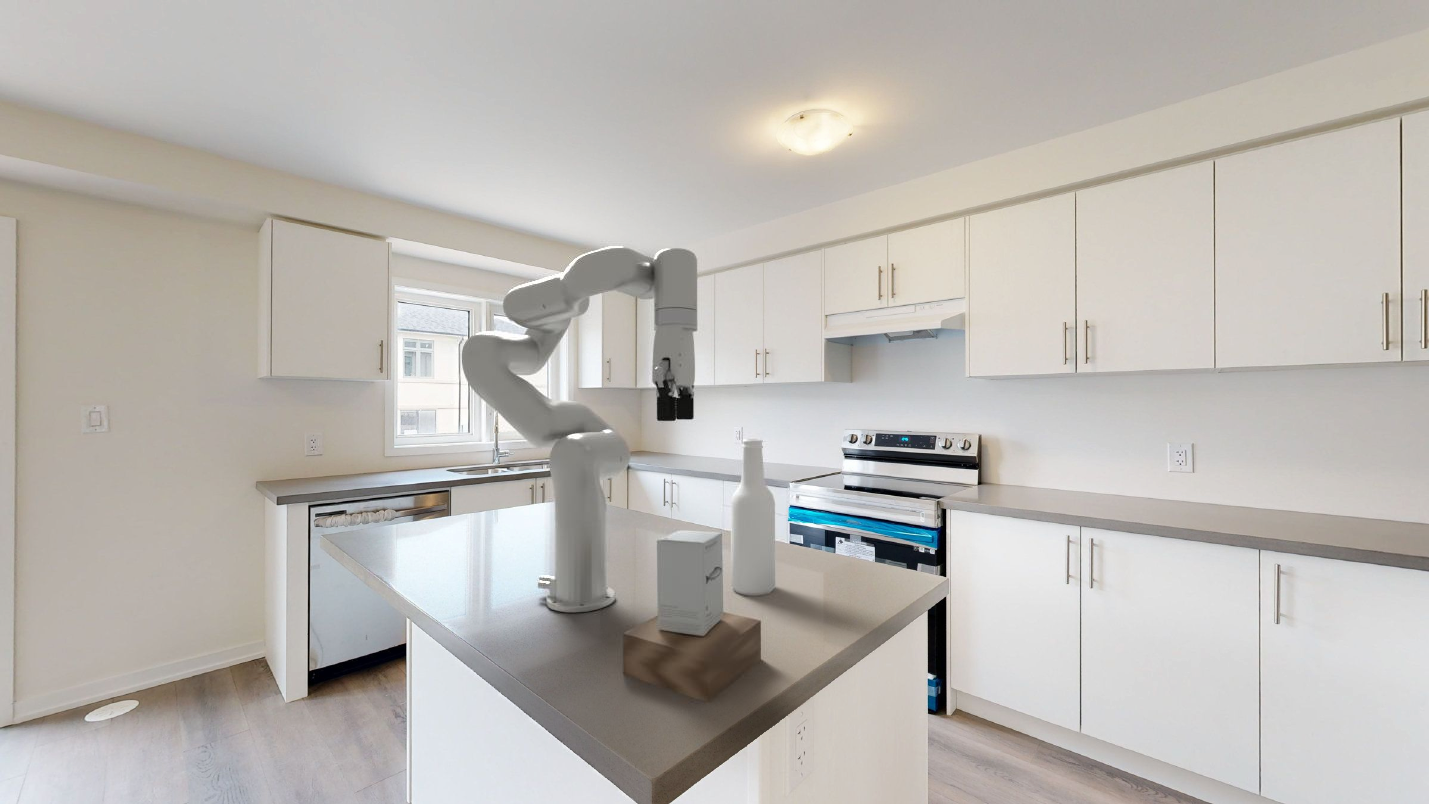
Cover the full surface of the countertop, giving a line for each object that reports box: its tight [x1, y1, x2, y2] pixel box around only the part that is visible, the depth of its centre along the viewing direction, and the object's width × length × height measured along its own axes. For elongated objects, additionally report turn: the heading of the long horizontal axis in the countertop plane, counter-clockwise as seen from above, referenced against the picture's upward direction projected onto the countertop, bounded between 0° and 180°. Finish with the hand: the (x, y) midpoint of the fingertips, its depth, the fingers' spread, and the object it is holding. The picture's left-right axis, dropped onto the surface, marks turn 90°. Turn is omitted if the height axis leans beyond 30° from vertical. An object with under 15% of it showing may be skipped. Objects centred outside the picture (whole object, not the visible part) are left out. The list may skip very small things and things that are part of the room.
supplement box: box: [656, 529, 724, 636], centre depth 80 cm, size 7×7×13 cm
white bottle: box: [730, 438, 776, 597], centre depth 112 cm, size 9×9×30 cm
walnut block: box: [622, 611, 762, 703], centre depth 79 cm, size 14×14×6 cm
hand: (676, 420), depth 97 cm, fingers open, 9 cm apart
